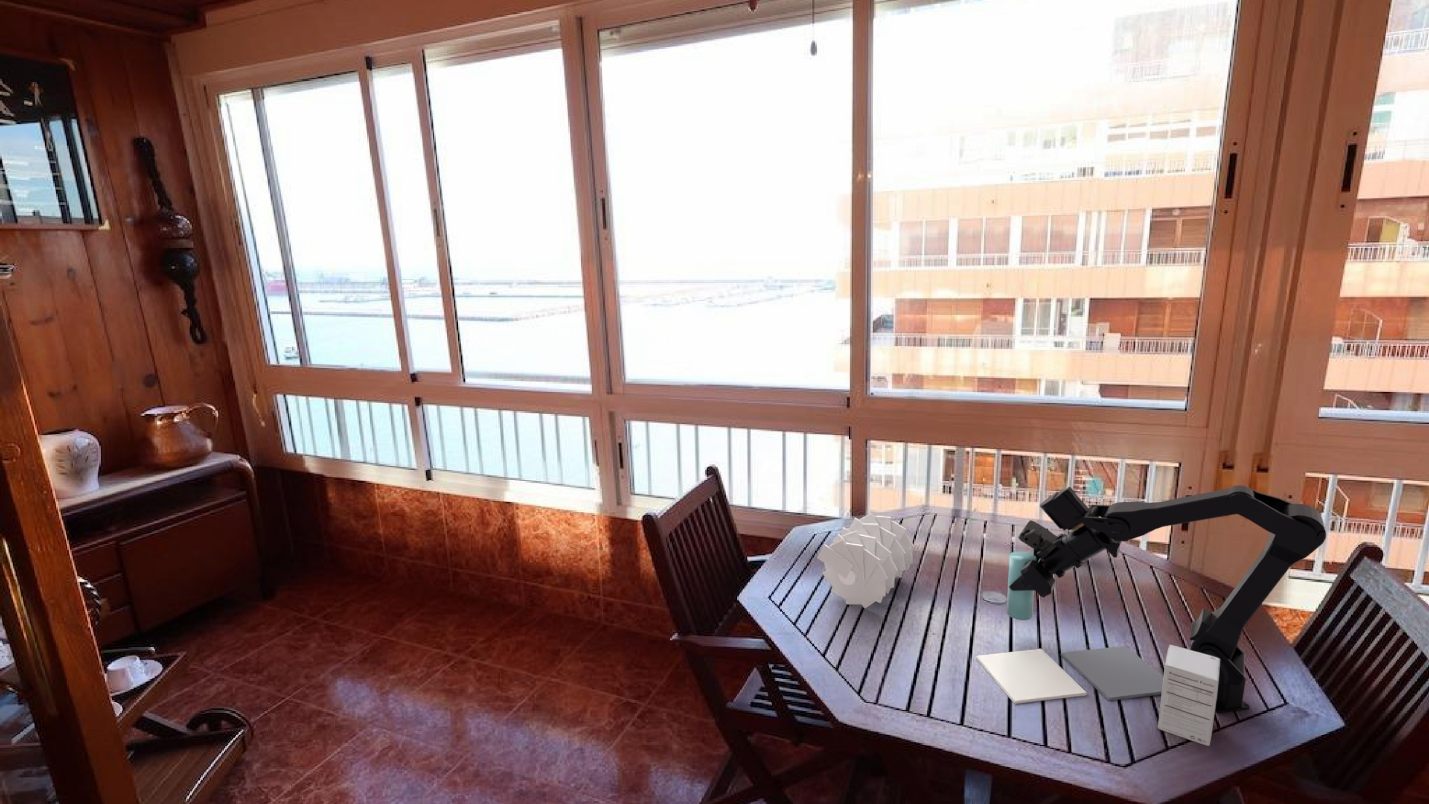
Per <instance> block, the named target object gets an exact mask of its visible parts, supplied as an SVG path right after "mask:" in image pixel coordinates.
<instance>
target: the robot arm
mask: <svg viewBox="0 0 1429 804" xmlns="http://www.w3.org/2000/svg"><path fill="white" fill-rule="evenodd" d="M1039 507H1040V509H1041V510H1042V511H1043V512H1044V514H1046V516H1048V517H1049V519H1050V520H1051V521H1052V522H1053V523H1054V524H1055V525H1056V526H1057V527H1058V529H1060V530H1063V531H1066V530H1067V531H1070V532H1069V533H1060V534H1058V535H1057V534H1056V535H1055V534H1054V533H1053V532H1051V531H1050V530H1049V529H1047V528H1046V527H1044V526H1042V525H1041V524H1040V523H1038V522H1036V521H1034V520H1032V519H1031V520H1029V521H1028V522H1027V523H1026V525H1025V526H1024V528H1023V529H1022V531H1021V532H1020V533H1019V534H1018V537H1017V538H1018V540H1019V541H1021V542H1022V543H1023V544H1025V545H1027V546H1029V547H1030V548H1031V549H1033V555H1034V556H1035V557H1036V561H1034V560H1031V561H1030V562H1028V563H1027V562H1026V563H1025V564H1024V566H1023V568H1022V569H1021V574H1022V575H1021V576H1019V577H1018V578H1017V579H1016V580H1015V581H1014V582H1013V583H1012V584H1011V585H1010V586H1009V588H1010V589H1011V590H1012V591H1034V592H1036V593H1037V594H1038V596H1039V597H1040V598H1046V597H1048V596H1049V595H1051V594H1052V593H1053V592H1054V589H1055V587H1056V582H1057V581H1056V579H1055V578H1054V576H1053V575H1056V576H1057V577H1058V579H1061V578H1062V577H1064V576H1065V574H1066V572H1068V571H1070V570H1072V569H1074V568H1076V569H1078V568H1080V567H1082V565H1083V564H1084V562H1087V561H1088V560H1090V559H1091V558H1093V557H1095V556H1097V555H1098V554H1100V553H1102V552H1104V551H1105V550H1106V551H1107V552H1108V553H1109V555H1111V556H1112V557H1113V558H1118V555H1119V553H1120V546H1121V544H1122V542H1127V541H1131V540H1134V539H1137V538H1141V537H1143V536H1146V535H1147V534H1149V533H1151V532H1153V531H1155V530H1159V529H1160V528H1164V527H1168V526H1169V527H1170V526H1175V525H1180V524H1187V523H1193V522H1198V521H1204V520H1205V521H1206V520H1209V519H1210V520H1211V519H1217V518H1221V517H1226V516H1232V515H1233V516H1234V515H1238V516H1240V517H1243V518H1245V519H1247V520H1249V521H1251V522H1252V523H1253V524H1255V525H1257V526H1258V527H1260V528H1261V529H1263V530H1265V531H1266V532H1269V535H1268V538H1267V541H1266V543H1265V546H1264V548H1263V549H1262V550H1261V552H1260V553H1259V555H1257V557H1256V559H1255V560H1254V561H1253V563H1252V565H1251V566H1250V567H1249V568H1248V570H1247V571H1246V572H1245V573H1244V575H1243V577H1242V578H1241V579H1240V580H1239V582H1238V583H1237V585H1236V586H1235V587H1234V588H1233V590H1232V591H1231V593H1230V594H1229V595H1228V597H1227V598H1226V599H1225V601H1224V602H1223V603H1222V605H1221V606H1220V607H1219V608H1218V609H1215V610H1214V611H1212V612H1211V611H1210V610H1208V609H1206V608H1205V607H1203V608H1202V610H1201V612H1200V615H1199V616H1198V618H1197V619H1196V620H1194V621H1192V622H1191V627H1190V634H1189V640H1190V641H1191V643H1190V650H1192V651H1195V652H1199V653H1203V654H1207V655H1210V656H1213V657H1217V658H1219V659H1220V670H1219V682H1218V691H1217V699H1216V706H1215V712H1216V713H1226V712H1228V713H1229V712H1235V711H1243V710H1250V705H1249V704H1248V703H1247V702H1245V701H1244V696H1245V695H1244V694H1245V689H1246V688H1245V687H1246V681H1247V678H1246V677H1245V672H1246V671H1245V670H1246V669H1245V668H1246V667H1245V665H1246V664H1245V661H1246V660H1245V659H1246V658H1245V657H1246V654H1245V652H1244V651H1243V650H1242V649H1241V648H1240V646H1238V643H1239V641H1240V638H1241V634H1242V631H1243V630H1244V628H1245V626H1246V625H1247V623H1248V622H1249V621H1250V620H1251V618H1252V617H1253V616H1254V614H1255V613H1256V612H1257V611H1258V609H1259V608H1260V607H1261V605H1262V604H1263V603H1264V602H1265V600H1266V599H1267V598H1268V597H1269V595H1270V594H1271V593H1272V591H1273V590H1274V588H1275V587H1276V586H1277V584H1278V583H1280V581H1281V579H1282V578H1283V577H1284V576H1285V574H1286V573H1287V572H1288V570H1290V568H1291V567H1292V566H1293V565H1295V564H1297V563H1299V562H1300V561H1302V560H1304V559H1306V558H1307V557H1309V556H1310V555H1312V553H1314V552H1315V551H1316V550H1317V549H1318V548H1320V547H1321V546H1322V545H1323V544H1324V542H1325V541H1326V539H1327V531H1326V528H1325V527H1326V526H1325V523H1324V519H1323V517H1322V515H1321V513H1320V512H1319V511H1318V509H1315V508H1314V507H1312V506H1310V505H1307V504H1304V503H1292V502H1289V501H1287V500H1285V499H1282V498H1280V497H1278V496H1274V495H1270V494H1267V493H1264V492H1260V491H1257V490H1255V489H1252V488H1250V487H1248V486H1246V485H1239V484H1238V485H1234V486H1231V487H1228V488H1224V489H1219V490H1214V491H1209V492H1204V493H1199V494H1193V495H1189V496H1182V497H1178V498H1173V499H1167V500H1163V501H1157V502H1146V501H1121V502H1118V501H1117V502H1115V503H1112V504H1110V505H1108V504H1107V505H1106V504H1090V505H1089V507H1088V506H1087V504H1086V503H1084V501H1083V500H1082V499H1081V498H1080V497H1079V496H1078V494H1077V493H1076V491H1075V490H1074V489H1073V488H1072V487H1071V486H1068V487H1067V488H1064V489H1061V490H1060V491H1056V492H1054V493H1053V494H1051V495H1050V496H1049V497H1047V498H1046V499H1044V500H1043V501H1042V502H1041V503H1040V504H1039ZM1081 523H1083V524H1084V525H1082V526H1080V527H1079V528H1077V529H1075V530H1074V531H1072V532H1071V529H1073V528H1075V527H1076V526H1078V525H1079V524H1081Z"/></svg>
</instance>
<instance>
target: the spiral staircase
mask: <svg viewBox="0 0 1429 804" xmlns="http://www.w3.org/2000/svg"><path fill="white" fill-rule="evenodd" d="M906 531H907V528H905V527H903V526H902V525H901V524H899V523H898V522H896V521H894V520H892V517H891V516H882V515H875V514H874V513H873V512H871V513H868V514H866V515H865V516H863V517H861V518H857V517H854V518H853V521H852V522H851V524H850V526H849V527H844V526H843V527H842V529H841V531H840V534H839V533H837V535H835V537H834V539H833V541H832V542H831V543H830V545H828V544H825V543H824V544H823V546H822V548H820V551H819V553H818V556H817V557H816V558H817V559H818V560H820V561H821V562H822V563H823V564H824V569H825V571H823V572H822V576H823V577H824V578H825V580H827V581H828V583H829V584H830V585H831V590H830V592H831V593H833V594H835V595H837V596H839V597H840V598H843V599H844V600H845V602H846V605H861V606H862V607H863V608H864V609H867V608H868V607H870V606H871V605H873V604H874V603H875V602H877V603H879V604H881V603H882V601H883V598H884V597H886V596H887V594H888V595H889V593H890V590H891V589H894V588H895V580H896V578H897V577H898V578H900V579H901V578H902V577H903V573H904V572H905V571H908V570H909V568H910V565H911V564H913V563H914V562H913V561H914V560H913V548H914V547H915V545H914V544H913V542H912V540H911V538H910V537H909V535H908V533H907V532H906Z"/></svg>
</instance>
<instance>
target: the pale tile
mask: <svg viewBox="0 0 1429 804" xmlns="http://www.w3.org/2000/svg"><path fill="white" fill-rule="evenodd" d="M975 659H976V661H978V662H979V664H980V665H981V666H982V667H983V668H984V670H985V671H987V673H988V674H989V675H990V676H991V678H992V679H993V681H995V683H996V684H997V685H998V686H999V687H1000V689H1002V691H1003V692H1004V693H1005V694H1006V695H1007V697H1008V698H1009V699H1010V700H1011V702H1012V703H1013V704H1024V703H1025V704H1026V703H1033V702H1042V701H1048V700H1049V701H1050V700H1057V699H1066V698H1074V697H1084V696H1087V691H1086V690H1084V689H1083V688H1082V687H1081V686H1080V685H1079V684H1078V683H1077V681H1076V680H1074V679H1073V678H1072V677H1071V676H1070V675H1069V674H1068V673H1067V672H1066V671H1065V670H1064V669H1063V668H1062V667H1061V666H1060V665H1059V664H1057V662H1056V661H1054V659H1053V658H1052V657H1050V656H1049V654H1047V653H1046V652H1045V651H1044V650H1043V649H1042V648H1037V649H1036V648H1035V649H1027V650H1018V651H1016V650H1015V651H1010V652H1001V653H998V652H997V653H992V654H990V653H989V654H982V655H981V654H980V655H976V656H975Z"/></svg>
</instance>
